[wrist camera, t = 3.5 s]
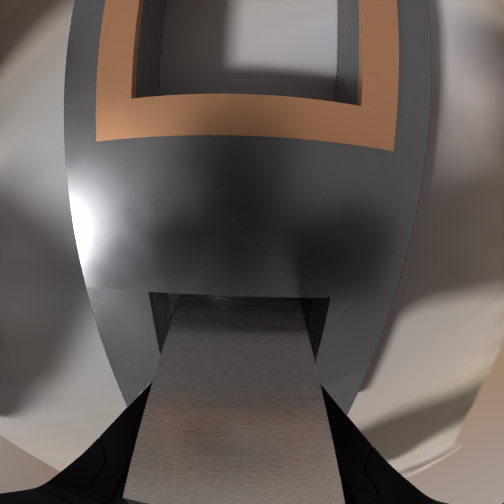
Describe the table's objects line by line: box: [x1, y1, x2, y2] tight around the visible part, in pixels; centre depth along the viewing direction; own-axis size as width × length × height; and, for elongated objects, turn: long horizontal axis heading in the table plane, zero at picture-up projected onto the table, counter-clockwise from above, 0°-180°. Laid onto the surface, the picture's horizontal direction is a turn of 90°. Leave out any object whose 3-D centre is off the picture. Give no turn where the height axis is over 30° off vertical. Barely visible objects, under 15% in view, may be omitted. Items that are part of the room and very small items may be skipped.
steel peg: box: [123, 294, 345, 504], centre depth 8 cm, size 4×4×8 cm
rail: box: [64, 0, 431, 415], centre depth 8 cm, size 22×10×2 cm, turn 178°
